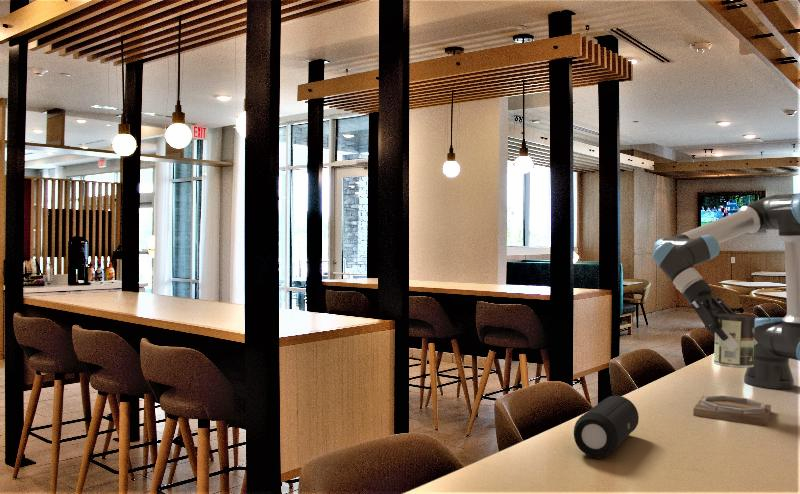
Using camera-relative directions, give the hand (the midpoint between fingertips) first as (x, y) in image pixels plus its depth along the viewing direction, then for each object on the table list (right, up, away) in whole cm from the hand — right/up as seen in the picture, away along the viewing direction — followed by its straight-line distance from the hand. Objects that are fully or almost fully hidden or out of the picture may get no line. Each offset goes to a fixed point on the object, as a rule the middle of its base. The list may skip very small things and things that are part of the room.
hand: (744, 347), depth 192 cm
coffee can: (-2, -5, +3) cm, 6 cm away
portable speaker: (-48, -19, -30) cm, 60 cm away
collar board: (-2, -19, +3) cm, 19 cm away
